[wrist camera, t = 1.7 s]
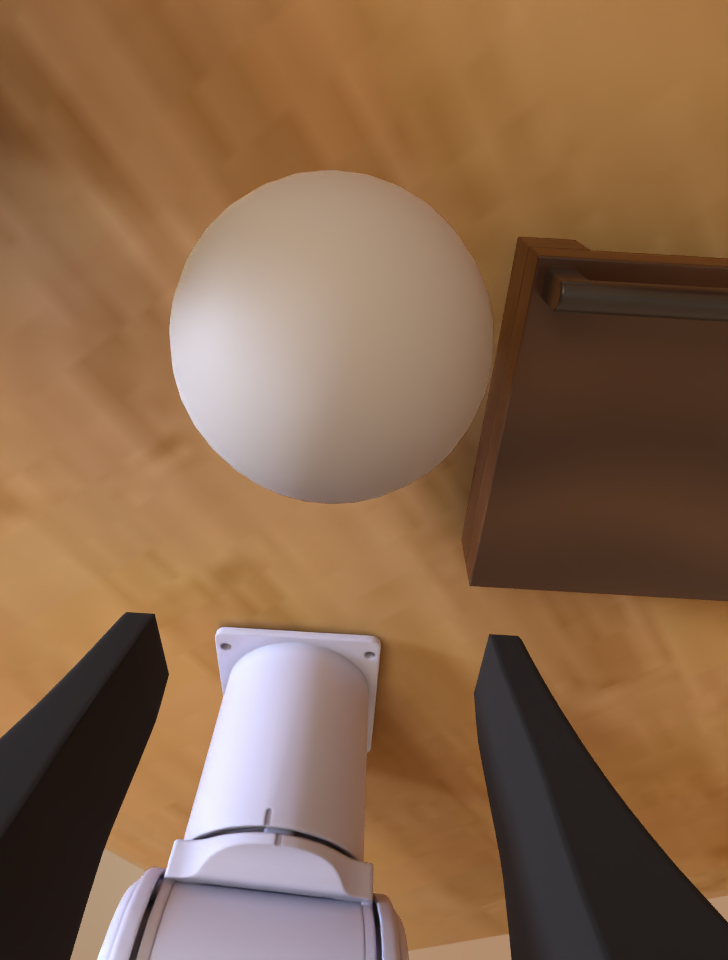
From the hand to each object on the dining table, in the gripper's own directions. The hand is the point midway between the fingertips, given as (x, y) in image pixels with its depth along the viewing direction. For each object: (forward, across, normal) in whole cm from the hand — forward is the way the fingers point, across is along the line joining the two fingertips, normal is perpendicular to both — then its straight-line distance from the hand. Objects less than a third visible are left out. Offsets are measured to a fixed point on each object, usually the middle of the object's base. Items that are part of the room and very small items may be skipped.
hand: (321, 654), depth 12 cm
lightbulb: (+11, 0, -6) cm, 12 cm away
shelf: (+10, -12, -1) cm, 16 cm away
